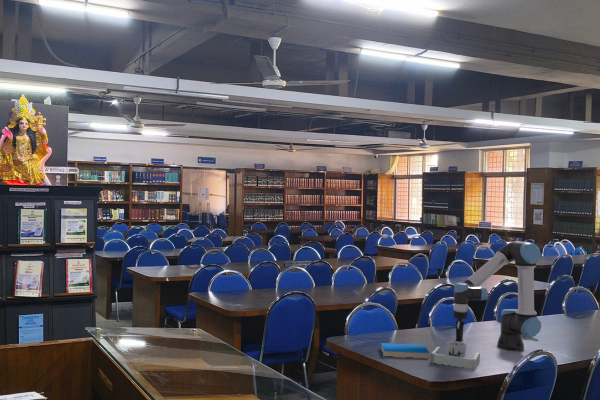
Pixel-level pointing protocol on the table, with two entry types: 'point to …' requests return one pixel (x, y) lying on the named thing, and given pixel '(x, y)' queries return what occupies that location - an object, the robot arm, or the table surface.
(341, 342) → the table surface
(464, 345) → the mug
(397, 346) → the book
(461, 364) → the cradle
